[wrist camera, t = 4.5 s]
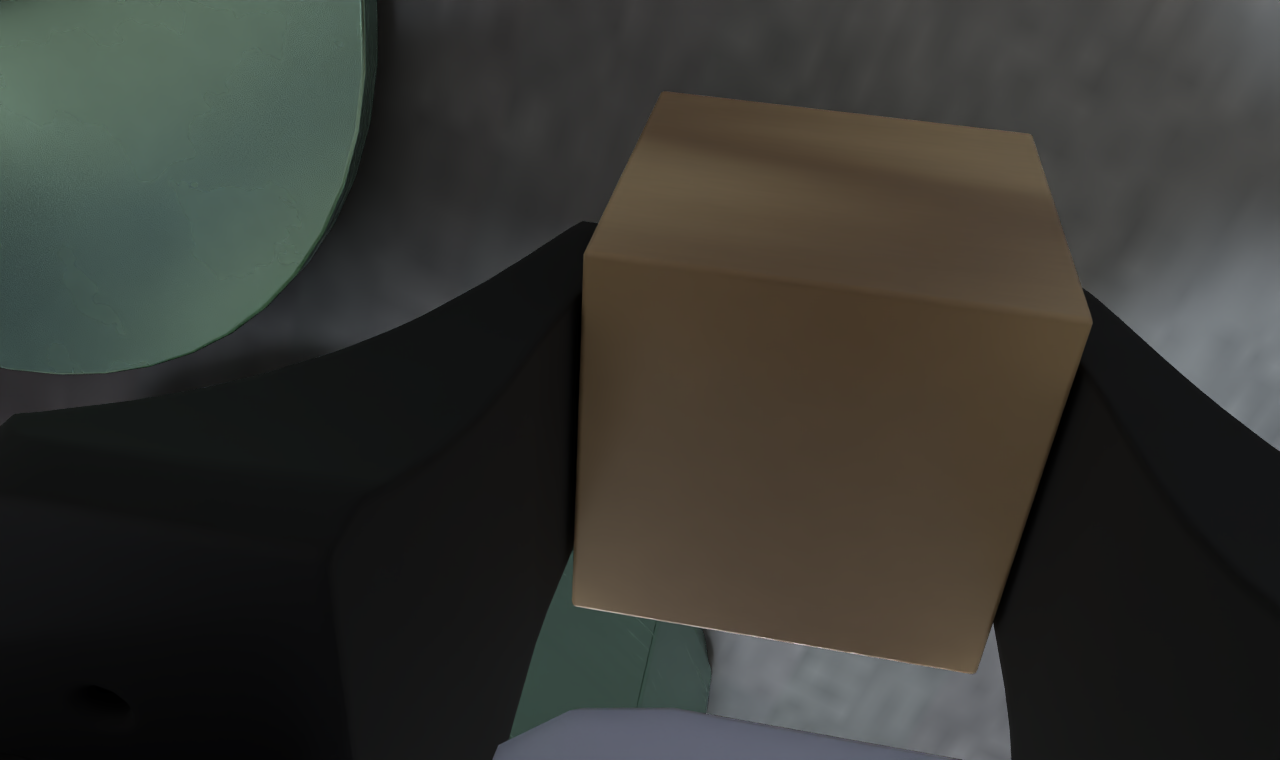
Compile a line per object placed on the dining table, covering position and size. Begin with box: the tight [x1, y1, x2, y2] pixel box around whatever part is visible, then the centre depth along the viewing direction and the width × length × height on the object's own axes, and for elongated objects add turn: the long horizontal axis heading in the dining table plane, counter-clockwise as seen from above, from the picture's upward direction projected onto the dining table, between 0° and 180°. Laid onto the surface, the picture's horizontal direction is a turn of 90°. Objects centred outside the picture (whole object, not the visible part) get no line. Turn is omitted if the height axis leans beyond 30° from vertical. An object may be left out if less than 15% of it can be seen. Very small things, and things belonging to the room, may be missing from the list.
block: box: [572, 91, 1093, 674], centre depth 11 cm, size 4×4×4 cm
